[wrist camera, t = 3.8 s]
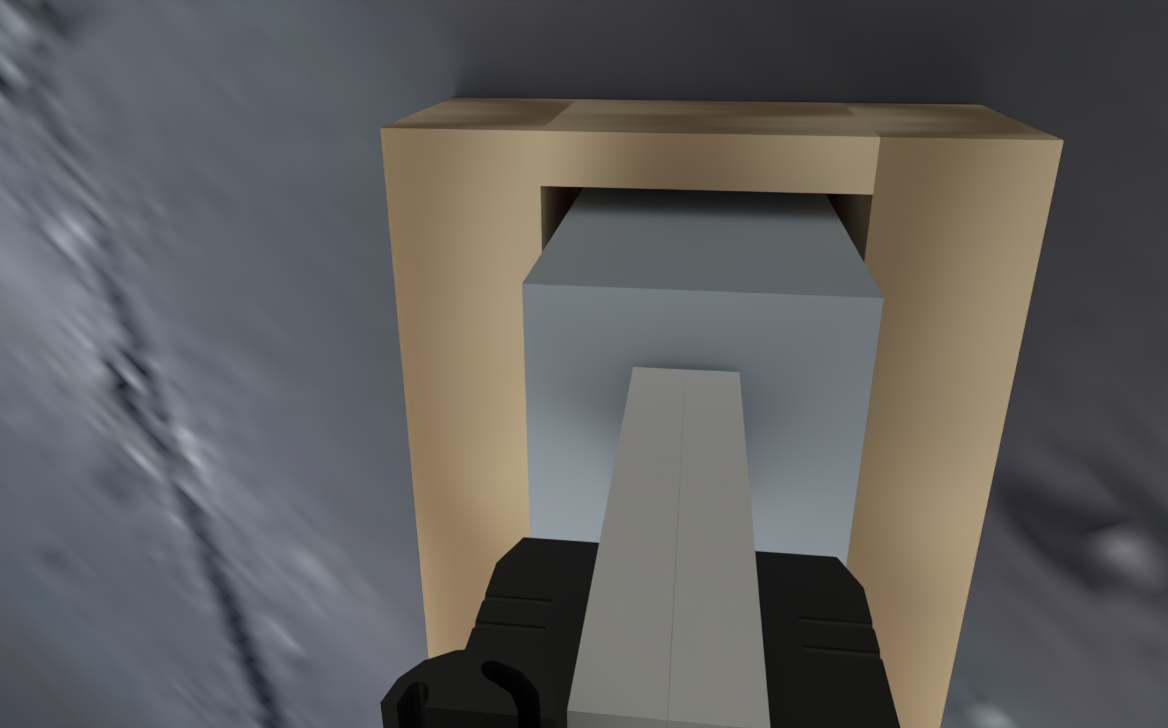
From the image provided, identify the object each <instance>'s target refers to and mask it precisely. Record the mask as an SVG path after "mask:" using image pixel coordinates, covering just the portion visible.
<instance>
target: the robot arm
mask: <svg viewBox="0 0 1168 728" xmlns="http://www.w3.org/2000/svg"><path fill="white" fill-rule="evenodd" d="M685 376H686V378H685ZM381 711H382V719H383V727H384V728H900V724H899V720H898V717H897V713H896V709H895V705H894V701H893V697H892V694H891V690H890V686H889V682H888V678H887V675H886V671H885V667H884V663H883V659H881V658H880V648H879V644H878V640H877V636H876V633H875V629H873V621H872V617H871V614H870V610H869V606H868V602H867V598H866V595H865V591H864V587H863V586H862V585H861V584H860V583H859V582H858V580H857V579H856V578H855V577H854V576H853V575H852V574H851V572H850V571H849V570H848V569H847V568H846V567H845V566H844V564H843V563H842V562H841V561H840V560H839V559H838V558H837V557H833V556H819V555H805V554H791V553H778V552H764V551H755V545H754V534H753V522H752V511H751V499H750V488H749V476H748V464H747V453H746V441H745V430H744V418H743V407H742V395H741V384H740V372H727V371H707V370H686V369H666V368H645V367H633V370H632V375H631V380H630V385H629V391H628V396H627V401H626V406H625V411H624V417H623V422H622V427H621V432H620V438H619V443H618V448H617V453H616V458H615V464H614V469H613V474H612V479H611V484H610V490H609V495H608V500H607V505H606V511H605V516H604V521H603V526H602V531H601V537H600V542H599V543H598V542H585V541H571V540H557V539H543V538H530V537H523V538H522V539H521V540H520V541H519V542H518V543H517V544H516V545H515V546H514V547H512V548H511V549H510V550H509V551H508V552H507V553H506V554H505V555H504V556H503V557H502V558H501V559H500V560H499V561H498V562H496V565H495V568H494V571H493V573H492V576H491V579H490V582H489V584H488V587H487V590H486V593H485V599H484V600H483V601H482V604H481V606H480V609H479V612H478V615H477V617H476V620H475V627H473V628H472V631H471V634H470V636H469V639H468V642H467V645H466V647H465V650H454V651H451V652H448V653H445V654H442V655H439V656H436V657H433V658H430V659H427V660H424V661H423V662H421V663H420V664H418V665H417V666H415V667H414V668H413V669H411V670H410V671H408V672H407V673H405V674H404V675H402V676H401V677H399V678H398V679H397V681H396V682H395V683H394V685H393V686H392V687H391V689H390V690H389V692H388V693H387V694H386V696H385V697H384V699H383V700H382V701H381Z"/></svg>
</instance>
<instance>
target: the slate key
mask: <svg viewBox="0 0 1168 728" xmlns="http://www.w3.org/2000/svg"><path fill="white" fill-rule="evenodd" d="M522 298H523V330H524V362H525V394H526V426H527V458H528V491H529V523H530V538H543V539H557V540H571V541H585V542H598V543H599V542H600V537H601V531H602V526H603V521H604V516H605V511H606V505H607V500H608V495H609V490H610V484H611V479H612V474H613V469H614V464H615V458H616V453H617V448H618V443H619V438H620V432H621V427H622V422H623V417H624V411H625V406H626V401H627V396H628V391H629V385H630V380H631V375H632V370H633V367H645V368H666V369H686V370H707V371H727V372H740V384H741V395H742V407H743V418H744V430H745V441H746V453H747V464H748V476H749V488H750V499H751V511H752V522H753V534H754V545H755V551H764V552H778V553H791V554H805V555H819V556H833V557H837V558H838V559H839V560H840V561H841V562H842V563H843V564H844V566H845V567H846V563H847V556H848V548H849V541H850V534H851V527H852V520H853V513H854V506H855V499H856V492H857V485H858V478H859V470H860V463H861V456H862V449H863V442H864V435H865V428H866V421H867V414H868V407H869V400H870V392H871V385H872V378H873V371H874V364H875V357H876V350H877V343H878V336H879V329H880V322H881V314H882V307H883V300H884V298H883V296H882V294H881V292H880V291H879V289H878V287H877V285H876V283H875V282H874V280H873V278H872V276H871V274H870V273H869V271H868V269H867V267H866V265H865V264H864V262H863V260H862V258H861V257H860V255H859V253H858V251H857V249H856V248H855V246H854V244H853V242H852V240H851V239H850V237H849V235H848V233H847V231H846V230H845V228H844V226H843V224H842V223H841V221H840V219H839V217H838V215H837V214H836V212H835V210H834V208H833V206H832V205H831V203H830V201H829V199H828V197H827V196H826V194H825V193H793V192H755V191H716V190H678V189H640V188H601V187H584V188H583V189H582V191H581V192H580V194H579V196H578V197H577V199H576V200H575V202H574V203H573V205H572V207H571V208H570V210H569V211H568V213H567V214H566V216H565V217H564V219H563V221H562V222H561V224H560V225H559V227H558V228H557V230H556V232H555V233H554V235H553V236H552V238H551V239H550V241H549V242H548V244H547V246H546V247H545V249H544V250H543V252H542V253H541V255H540V256H539V258H538V260H537V261H536V263H535V264H534V266H533V267H532V269H531V271H530V272H529V274H528V275H527V277H526V278H525V280H524V281H523V283H522ZM685 378H686V376H685Z"/></svg>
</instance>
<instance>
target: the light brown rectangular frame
mask: <svg viewBox="0 0 1168 728" xmlns="http://www.w3.org/2000/svg"><path fill="white" fill-rule="evenodd" d="M380 131H381V142H382V153H383V164H384V175H385V186H386V197H387V207H388V218H389V229H390V240H391V251H392V262H393V273H394V284H395V295H396V306H397V317H398V328H399V338H400V349H401V360H402V371H403V382H404V393H405V404H406V415H407V426H408V437H409V448H410V459H411V469H412V480H413V491H414V502H415V513H416V524H417V535H418V546H419V557H420V568H421V579H422V590H423V600H424V611H425V622H426V633H427V644H428V655H429V659H430V658H433V657H436V656H439V655H442V654H445V653H448V652H451V651H454V650H465V647H466V645H467V642H468V639H469V636H470V634H471V631H472V628H473V627H475V620H476V617H477V615H478V612H479V609H480V606H481V604H482V601H483V600H484V599H485V593H486V590H487V587H488V584H489V582H490V579H491V576H492V573H493V571H494V568H495V565H496V562H498V561H499V560H500V559H501V558H502V557H503V556H504V555H505V554H506V553H507V552H508V551H509V550H510V549H511V548H512V547H514V546H515V545H516V544H517V543H518V542H519V541H520V540H521V539H522V538H523V537H530V523H529V491H528V458H527V426H526V394H525V362H524V330H523V298H522V283H523V281H524V280H525V278H526V277H527V275H528V274H529V272H530V271H531V269H532V267H533V266H534V264H535V263H536V261H537V260H538V258H539V256H540V255H541V253H542V252H543V250H544V249H545V247H546V246H547V244H548V242H549V241H550V239H551V238H552V236H553V235H554V233H555V232H556V230H557V228H558V227H559V225H560V224H561V222H562V221H563V219H564V217H565V216H566V214H567V213H568V211H569V210H570V208H571V207H572V205H573V203H574V202H575V200H576V199H577V197H578V187H601V188H640V189H678V190H716V191H755V192H793V193H831V200H830V203H831V205H832V206H833V208H834V210H835V212H836V214H837V215H838V217H839V219H840V221H841V223H842V224H843V226H844V228H845V230H846V231H847V233H848V235H849V237H850V239H851V240H852V242H853V244H854V246H855V248H856V249H857V251H858V253H859V255H860V257H861V258H862V260H863V262H864V264H865V265H866V267H867V269H868V271H869V273H870V274H871V276H872V278H873V280H874V282H875V283H876V285H877V287H878V289H879V291H880V292H881V294H882V296H883V298H884V300H883V307H882V314H881V322H880V329H879V336H878V343H877V350H876V357H875V364H874V371H873V378H872V385H871V392H870V400H869V407H868V414H867V421H866V428H865V435H864V442H863V449H862V456H861V463H860V470H859V478H858V485H857V492H856V499H855V506H854V513H853V520H852V527H851V534H850V541H849V548H848V556H847V563H846V568H847V569H848V570H849V571H850V572H851V574H852V575H853V576H854V577H855V578H856V579H857V580H858V582H859V583H860V584H861V585H862V586H863V587H864V591H865V595H866V598H867V602H868V606H869V610H870V614H871V617H872V621H873V629H875V633H876V636H877V640H878V644H879V648H880V658H881V659H883V663H884V667H885V671H886V675H887V678H888V682H889V686H890V690H891V694H892V697H893V701H894V705H895V709H896V713H897V717H898V720H899V724H900V728H940V725H941V720H942V715H943V710H944V706H945V701H946V696H947V692H948V687H949V682H950V677H951V673H952V668H953V663H954V658H955V654H956V649H957V644H958V639H959V635H960V630H961V625H962V620H963V616H964V611H965V606H966V601H967V597H968V592H969V587H970V582H971V578H972V573H973V568H974V564H975V559H976V554H977V549H978V545H979V540H980V535H981V530H982V526H983V521H984V516H985V511H986V507H987V502H988V497H989V492H990V488H991V483H992V478H993V473H994V469H995V464H996V459H997V455H998V450H999V445H1000V440H1001V436H1002V431H1003V426H1004V421H1005V417H1006V412H1007V407H1008V402H1009V398H1010V393H1011V388H1012V383H1013V379H1014V374H1015V369H1016V364H1017V360H1018V355H1019V350H1020V345H1021V341H1022V336H1023V331H1024V327H1025V322H1026V317H1027V312H1028V308H1029V303H1030V298H1031V293H1032V289H1033V284H1034V279H1035V274H1036V270H1037V265H1038V260H1039V255H1040V251H1041V246H1042V241H1043V236H1044V232H1045V227H1046V222H1047V217H1048V213H1049V208H1050V203H1051V199H1052V194H1053V189H1054V184H1055V180H1056V175H1057V170H1058V165H1059V161H1060V156H1061V151H1062V146H1063V142H1064V140H1062V139H1059V138H1057V137H1055V136H1052V135H1050V134H1048V133H1045V132H1043V131H1041V130H1038V129H1036V128H1034V127H1031V126H1029V125H1027V124H1024V123H1022V122H1020V121H1017V120H1015V119H1013V118H1010V117H1008V116H1006V115H1003V114H1001V113H999V112H996V111H994V110H992V109H989V108H987V107H985V106H982V105H966V104H893V103H819V102H746V101H673V100H599V99H526V98H450V99H448V100H446V101H443V102H441V103H438V104H436V105H434V106H431V107H429V108H427V109H424V110H422V111H419V112H417V113H415V114H412V115H410V116H408V117H405V118H403V119H400V120H398V121H396V122H393V123H391V124H389V125H386V126H384V127H381V128H380Z"/></svg>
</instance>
